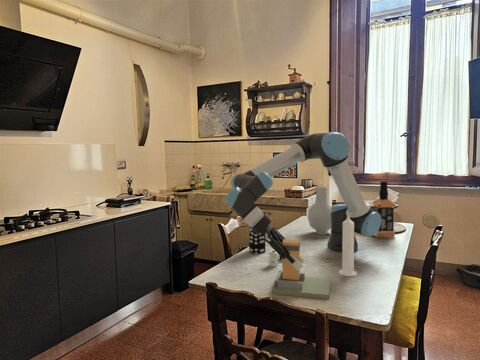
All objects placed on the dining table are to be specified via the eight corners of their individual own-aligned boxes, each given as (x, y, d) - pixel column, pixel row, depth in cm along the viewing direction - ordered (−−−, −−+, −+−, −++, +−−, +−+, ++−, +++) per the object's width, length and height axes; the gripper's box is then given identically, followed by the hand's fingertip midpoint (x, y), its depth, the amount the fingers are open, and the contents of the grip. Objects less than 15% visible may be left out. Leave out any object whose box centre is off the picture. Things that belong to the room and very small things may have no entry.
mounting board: (329, 282, 136) (329, 272, 135) (329, 299, 121) (329, 288, 121) (279, 278, 141) (279, 268, 140) (272, 293, 126) (272, 283, 126)
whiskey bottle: (395, 238, 195) (396, 181, 192) (377, 238, 195) (378, 182, 192) (387, 233, 205) (388, 180, 202) (371, 233, 206) (371, 180, 202)
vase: (339, 231, 212) (339, 186, 209) (331, 238, 199) (331, 189, 196) (313, 228, 221) (313, 185, 218) (303, 234, 207) (303, 188, 205)
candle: (336, 270, 148) (336, 213, 145) (352, 270, 148) (353, 212, 146) (342, 277, 140) (343, 216, 138) (359, 276, 141) (360, 215, 139)
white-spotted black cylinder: (264, 254, 172) (263, 214, 170) (248, 253, 174) (247, 214, 172) (266, 249, 180) (265, 211, 178) (250, 248, 182) (250, 211, 180)
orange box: (300, 275, 133) (299, 239, 132) (298, 280, 128) (298, 243, 127) (284, 273, 135) (283, 238, 133) (282, 278, 130) (282, 242, 129)
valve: (279, 268, 153) (287, 259, 164) (278, 253, 152) (287, 246, 163) (265, 266, 156) (274, 258, 166) (265, 251, 155) (274, 244, 166)
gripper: (256, 222, 142) (296, 264, 140) (245, 233, 125) (291, 281, 122) (268, 210, 141) (310, 252, 138) (259, 219, 123) (306, 267, 120)
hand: (301, 265), depth 130 cm, fingers closed on orange box, 5 cm apart
